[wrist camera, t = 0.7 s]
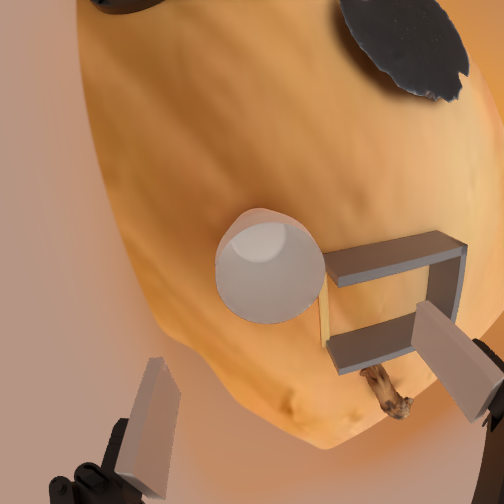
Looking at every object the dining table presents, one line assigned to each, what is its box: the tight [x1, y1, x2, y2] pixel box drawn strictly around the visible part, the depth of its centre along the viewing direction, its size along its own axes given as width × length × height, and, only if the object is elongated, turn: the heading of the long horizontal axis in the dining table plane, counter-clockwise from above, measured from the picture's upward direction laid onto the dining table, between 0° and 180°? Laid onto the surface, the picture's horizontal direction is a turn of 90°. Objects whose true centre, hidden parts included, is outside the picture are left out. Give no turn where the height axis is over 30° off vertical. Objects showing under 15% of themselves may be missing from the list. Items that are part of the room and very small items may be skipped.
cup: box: [215, 208, 325, 324], centre depth 27 cm, size 9×9×12 cm
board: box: [340, 0, 470, 103], centre depth 23 cm, size 22×22×5 cm
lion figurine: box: [360, 363, 413, 420], centre depth 38 cm, size 15×5×9 cm, turn 44°
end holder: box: [318, 231, 468, 375], centre depth 33 cm, size 14×20×7 cm
